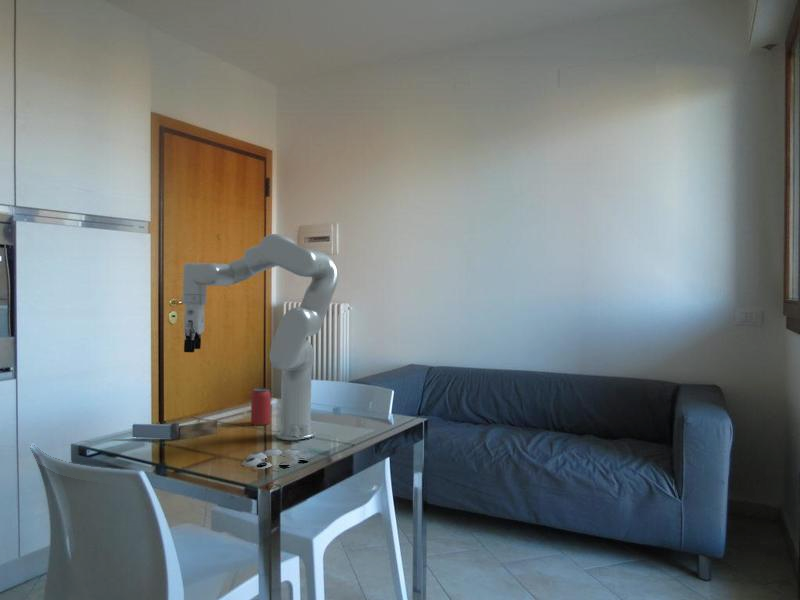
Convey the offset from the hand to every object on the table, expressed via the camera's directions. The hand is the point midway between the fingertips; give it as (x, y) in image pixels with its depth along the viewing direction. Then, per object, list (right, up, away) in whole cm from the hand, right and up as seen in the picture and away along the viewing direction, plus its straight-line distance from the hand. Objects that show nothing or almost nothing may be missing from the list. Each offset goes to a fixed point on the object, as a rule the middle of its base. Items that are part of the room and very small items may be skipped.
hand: (192, 350), depth 189 cm
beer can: (+21, -27, +8) cm, 35 cm away
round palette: (+37, -28, -35) cm, 58 cm away
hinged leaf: (-7, -26, -14) cm, 30 cm away
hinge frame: (+5, -26, -11) cm, 29 cm away
